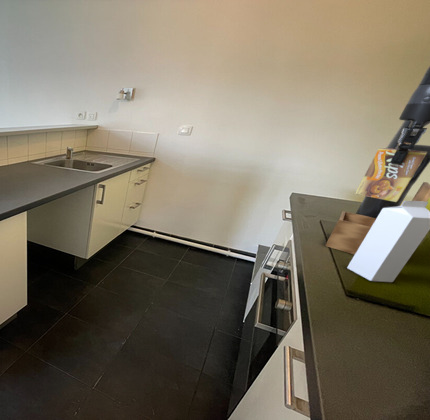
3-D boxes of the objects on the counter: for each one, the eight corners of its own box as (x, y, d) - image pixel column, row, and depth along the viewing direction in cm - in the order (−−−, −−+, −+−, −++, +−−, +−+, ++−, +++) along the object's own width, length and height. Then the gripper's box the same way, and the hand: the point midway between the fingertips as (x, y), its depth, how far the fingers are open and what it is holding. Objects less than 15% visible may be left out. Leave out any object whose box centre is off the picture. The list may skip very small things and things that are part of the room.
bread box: (325, 246, 83) (339, 219, 79) (329, 234, 92) (342, 210, 88) (383, 263, 74) (402, 235, 70) (382, 249, 83) (399, 223, 79)
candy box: (398, 200, 77) (428, 151, 71) (396, 202, 75) (427, 152, 69) (356, 192, 84) (380, 147, 78) (354, 194, 82) (378, 147, 76)
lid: (429, 189, 66) (466, 194, 62) (423, 181, 74) (455, 186, 70) (401, 233, 71) (433, 240, 67) (398, 221, 79) (426, 227, 75)
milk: (346, 268, 71) (388, 196, 63) (367, 269, 71) (411, 197, 63) (371, 281, 65) (420, 204, 57) (393, 282, 65) (446, 205, 57)
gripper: (458, 101, 62) (417, 167, 68) (448, 104, 70) (413, 163, 77) (409, 101, 67) (375, 162, 74) (405, 104, 76) (375, 159, 82)
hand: (395, 162), depth 75 cm, fingers closed on candy box, 4 cm apart
